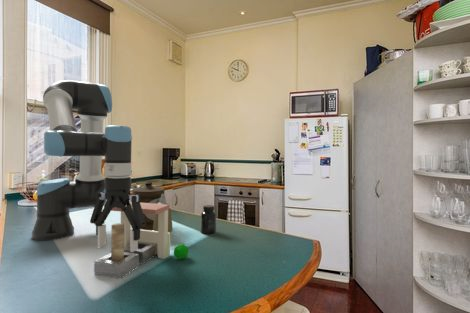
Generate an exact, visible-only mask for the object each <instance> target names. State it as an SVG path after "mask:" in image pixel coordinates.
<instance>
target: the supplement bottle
mask: <svg viewBox="0 0 470 313" xmlns="http://www.w3.org/2000/svg"><path fill="white" fill-rule="evenodd" d="M202 209H203V210H202V212H201V214H200V233H201V234H203V235H204V236H207V235H208V236H211V235H214V234H216V233H217V212H215V206H214V205H212V204H205V205H203V208H202Z"/></svg>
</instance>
